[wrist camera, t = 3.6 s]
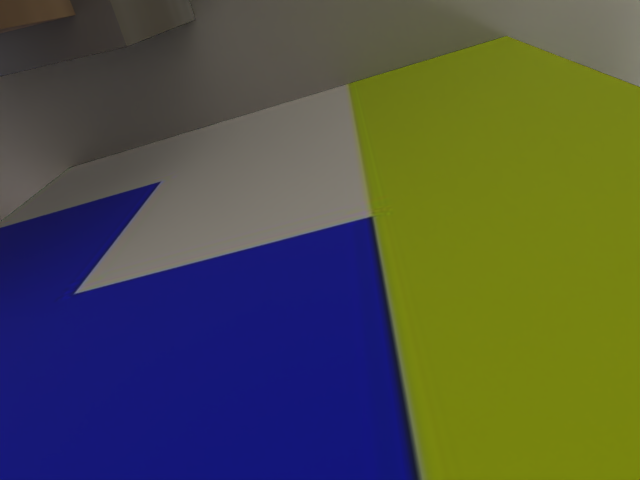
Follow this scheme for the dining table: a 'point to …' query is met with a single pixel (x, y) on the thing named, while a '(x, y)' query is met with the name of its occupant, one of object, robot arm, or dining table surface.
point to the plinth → (79, 28)
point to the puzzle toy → (341, 288)
